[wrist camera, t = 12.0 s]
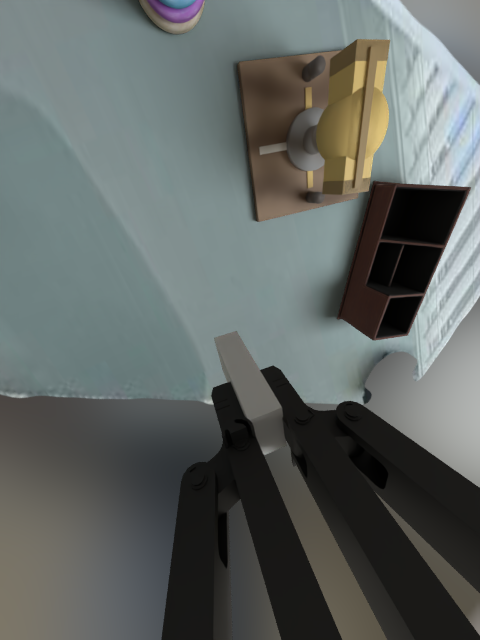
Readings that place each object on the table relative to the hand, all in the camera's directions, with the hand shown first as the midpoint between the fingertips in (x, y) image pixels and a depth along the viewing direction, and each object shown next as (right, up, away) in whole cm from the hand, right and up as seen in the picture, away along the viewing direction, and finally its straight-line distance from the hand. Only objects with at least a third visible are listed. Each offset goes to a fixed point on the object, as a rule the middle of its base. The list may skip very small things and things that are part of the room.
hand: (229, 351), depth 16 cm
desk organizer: (+30, +16, +39) cm, 52 cm away
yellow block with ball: (+14, +27, +17) cm, 35 cm away
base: (+11, +31, +24) cm, 41 cm away
